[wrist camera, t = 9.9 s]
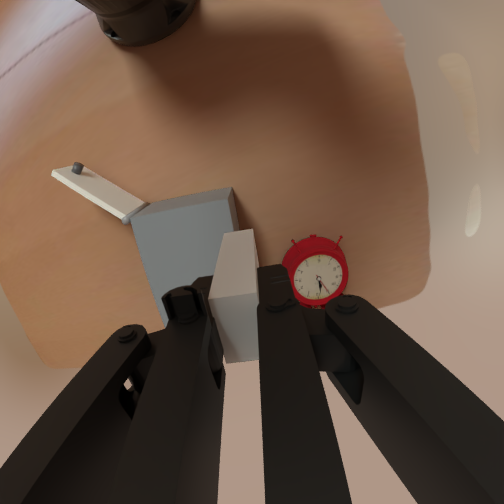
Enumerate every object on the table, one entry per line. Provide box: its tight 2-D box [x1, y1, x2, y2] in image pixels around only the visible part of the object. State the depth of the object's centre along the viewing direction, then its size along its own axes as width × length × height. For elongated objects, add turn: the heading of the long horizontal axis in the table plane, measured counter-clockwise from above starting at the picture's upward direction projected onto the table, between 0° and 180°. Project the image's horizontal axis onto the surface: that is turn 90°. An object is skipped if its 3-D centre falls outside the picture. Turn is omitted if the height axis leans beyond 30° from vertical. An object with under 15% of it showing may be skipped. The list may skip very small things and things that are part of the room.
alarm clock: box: [282, 234, 348, 309], centre depth 43 cm, size 10×6×15 cm
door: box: [51, 162, 150, 225], centre depth 35 cm, size 14×2×8 cm, turn 58°
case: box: [130, 187, 240, 328], centre depth 39 cm, size 20×12×10 cm, turn 9°
